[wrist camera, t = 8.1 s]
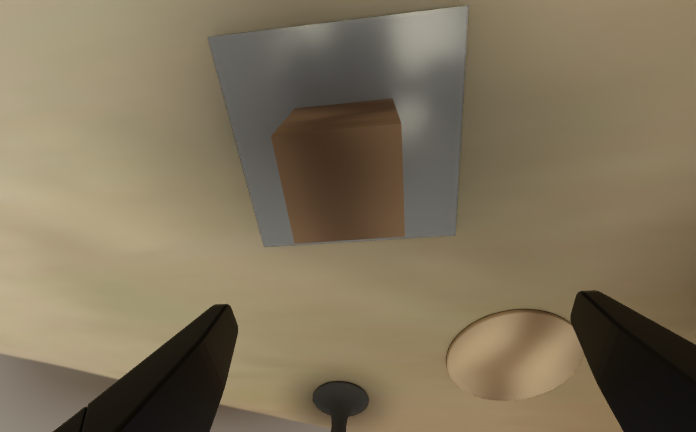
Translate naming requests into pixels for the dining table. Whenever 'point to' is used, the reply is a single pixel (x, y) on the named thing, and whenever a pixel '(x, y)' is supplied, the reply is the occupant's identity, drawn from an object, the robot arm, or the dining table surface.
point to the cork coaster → (514, 355)
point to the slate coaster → (346, 87)
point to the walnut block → (342, 171)
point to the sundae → (340, 402)
